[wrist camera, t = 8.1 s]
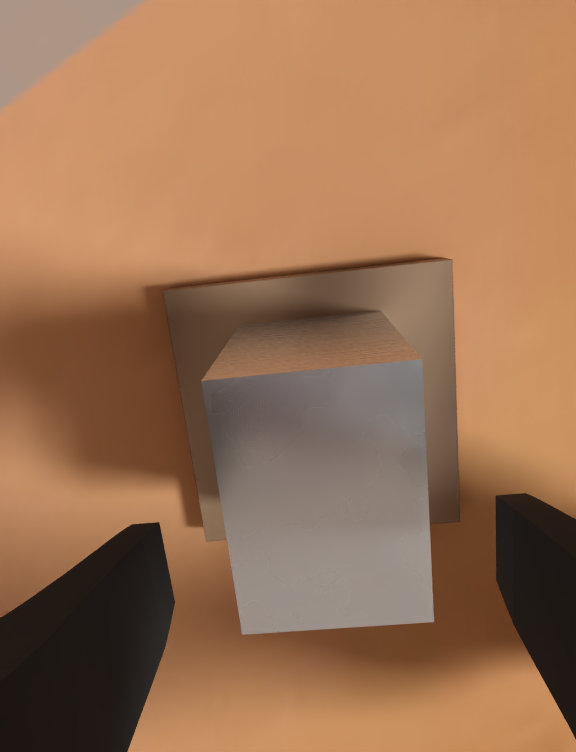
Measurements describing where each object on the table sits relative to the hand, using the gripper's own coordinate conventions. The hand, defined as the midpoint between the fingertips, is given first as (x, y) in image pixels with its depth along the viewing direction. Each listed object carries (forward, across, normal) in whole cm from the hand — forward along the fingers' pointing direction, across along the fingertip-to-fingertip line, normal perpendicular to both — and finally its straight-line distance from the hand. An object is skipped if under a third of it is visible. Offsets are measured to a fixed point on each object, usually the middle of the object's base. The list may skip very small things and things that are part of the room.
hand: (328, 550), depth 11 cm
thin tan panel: (+10, 0, 0) cm, 10 cm away
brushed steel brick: (+9, 0, 0) cm, 9 cm away
